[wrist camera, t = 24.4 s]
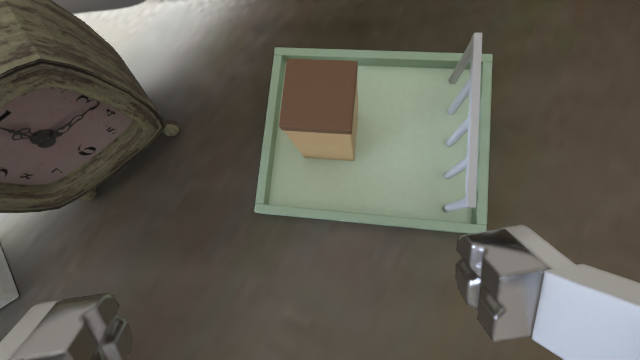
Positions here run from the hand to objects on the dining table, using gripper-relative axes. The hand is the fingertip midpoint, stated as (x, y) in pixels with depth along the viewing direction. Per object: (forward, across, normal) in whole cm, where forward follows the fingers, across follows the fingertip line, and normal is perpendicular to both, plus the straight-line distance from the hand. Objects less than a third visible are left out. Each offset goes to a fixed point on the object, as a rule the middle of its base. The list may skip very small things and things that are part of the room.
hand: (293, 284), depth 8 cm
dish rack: (+25, +8, -5) cm, 26 cm away
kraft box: (+25, +4, -4) cm, 26 cm away
